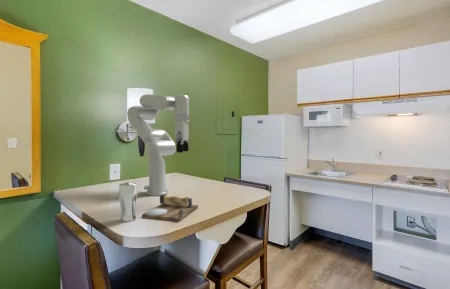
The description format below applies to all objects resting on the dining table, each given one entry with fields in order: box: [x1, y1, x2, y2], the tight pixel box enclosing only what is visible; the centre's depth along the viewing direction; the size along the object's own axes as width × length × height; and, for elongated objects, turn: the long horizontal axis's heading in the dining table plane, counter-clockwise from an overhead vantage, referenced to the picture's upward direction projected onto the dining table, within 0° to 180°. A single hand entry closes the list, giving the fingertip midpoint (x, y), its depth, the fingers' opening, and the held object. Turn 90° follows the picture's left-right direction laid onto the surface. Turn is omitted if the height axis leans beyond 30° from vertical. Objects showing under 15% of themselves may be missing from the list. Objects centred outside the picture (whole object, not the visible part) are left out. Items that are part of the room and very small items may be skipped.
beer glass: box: [118, 181, 138, 222], centre depth 102 cm, size 7×7×15 cm
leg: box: [159, 194, 189, 206], centre depth 117 cm, size 14×3×4 cm, turn 74°
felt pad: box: [145, 208, 167, 216], centre depth 108 cm, size 9×9×1 cm
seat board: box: [141, 197, 199, 222], centre depth 111 cm, size 18×19×5 cm
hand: (182, 151), depth 129 cm, fingers open, 9 cm apart
